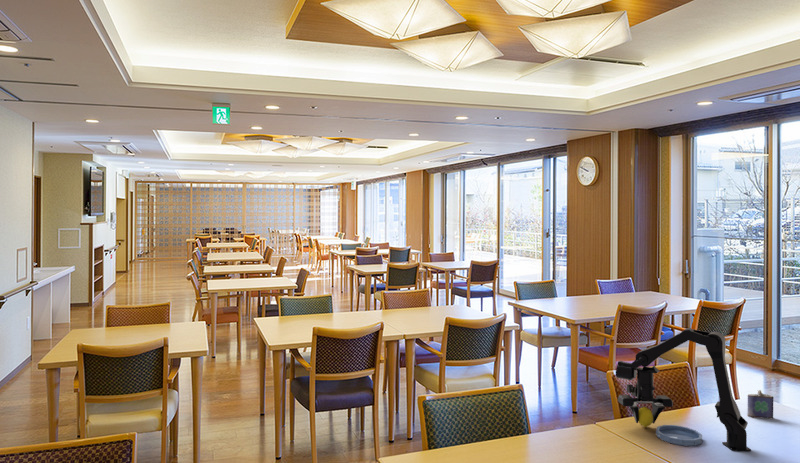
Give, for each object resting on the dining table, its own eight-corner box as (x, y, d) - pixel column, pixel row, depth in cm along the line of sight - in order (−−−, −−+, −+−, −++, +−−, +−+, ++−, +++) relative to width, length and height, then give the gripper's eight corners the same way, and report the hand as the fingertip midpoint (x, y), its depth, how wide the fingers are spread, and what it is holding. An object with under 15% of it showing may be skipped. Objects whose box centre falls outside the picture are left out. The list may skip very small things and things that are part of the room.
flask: (748, 417, 215) (748, 390, 215) (745, 414, 218) (746, 388, 218) (774, 419, 213) (774, 392, 213) (771, 416, 216) (771, 390, 216)
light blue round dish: (710, 446, 185) (710, 440, 185) (667, 445, 186) (667, 439, 186) (689, 430, 200) (689, 425, 200) (649, 429, 201) (649, 424, 201)
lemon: (649, 424, 206) (649, 404, 206) (655, 430, 200) (655, 409, 200) (635, 424, 206) (635, 404, 206) (640, 429, 201) (640, 408, 201)
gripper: (660, 377, 211) (660, 416, 211) (613, 376, 212) (612, 415, 212) (673, 385, 200) (673, 426, 200) (623, 384, 201) (623, 425, 201)
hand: (645, 423), depth 203 cm, fingers open, 6 cm apart
